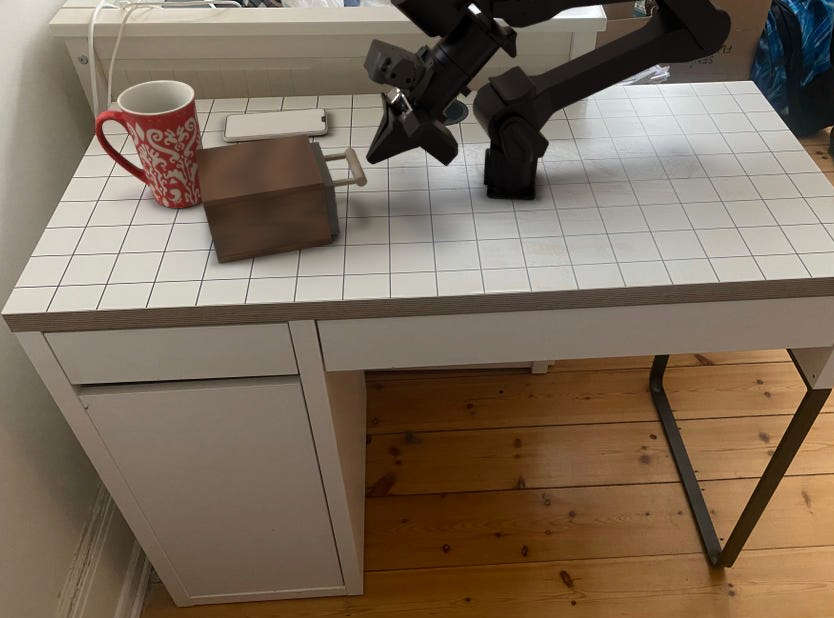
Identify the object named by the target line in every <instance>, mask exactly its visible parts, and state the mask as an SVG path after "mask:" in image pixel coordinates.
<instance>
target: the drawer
mask: <svg viewBox="0 0 834 618" xmlns="http://www.w3.org/2000/svg"><path fill="white" fill-rule="evenodd" d="M310 143H311V146H312V149H313V152H314V155H315V158H316V161H317V164H318V166H319V169H320V172H321V175H322V178H323V181H324V185H325V193H326V201H327V209H328V216H329V224H330V232H331V235H335V234H341V230H340V222H339V221H340V220H339V213H338V206H337V205H338V204H337V197H336V188H339V187H344V186H345V187H346V186H350V185H351V186H352V185H356V186H357V187H359V188H363V187H365V186H366V185H367V184H368V178H367V176H366V174H365V171H364V169H363V167H362V164H361V162H360V160H359V157H358V155H357V153H356V150H355V148H352V147H348V148H346V149H345V150H344V152H338V153H333V154H326V155H325V154H324V153H323V150H322V147H321V144H320V142H319V141H312V142H310ZM340 160H346V163H347V165H348V168H349V170H350V173H351V175H352V177H348V178H347V177H346V178H342V179H335V180H334V179H333V178H332V174H331V172H330V170H329V167H328V162H333V161H340Z"/></svg>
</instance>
